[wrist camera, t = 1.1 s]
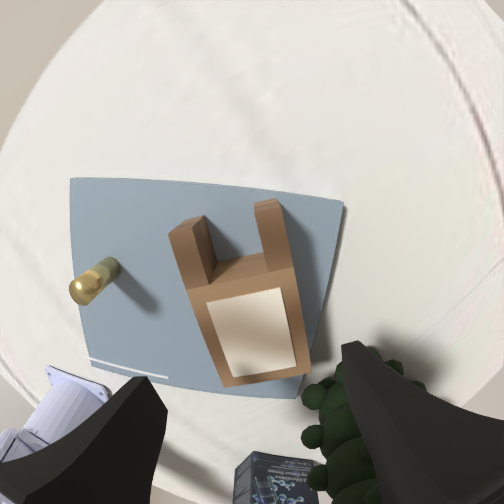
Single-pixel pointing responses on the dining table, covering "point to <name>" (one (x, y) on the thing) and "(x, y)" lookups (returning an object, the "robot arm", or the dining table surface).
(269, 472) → the box
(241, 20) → the dining table surface
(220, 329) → the wooden holder
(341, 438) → the toy figurine
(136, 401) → the robot arm
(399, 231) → the dining table surface
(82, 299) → the peg
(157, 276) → the board
